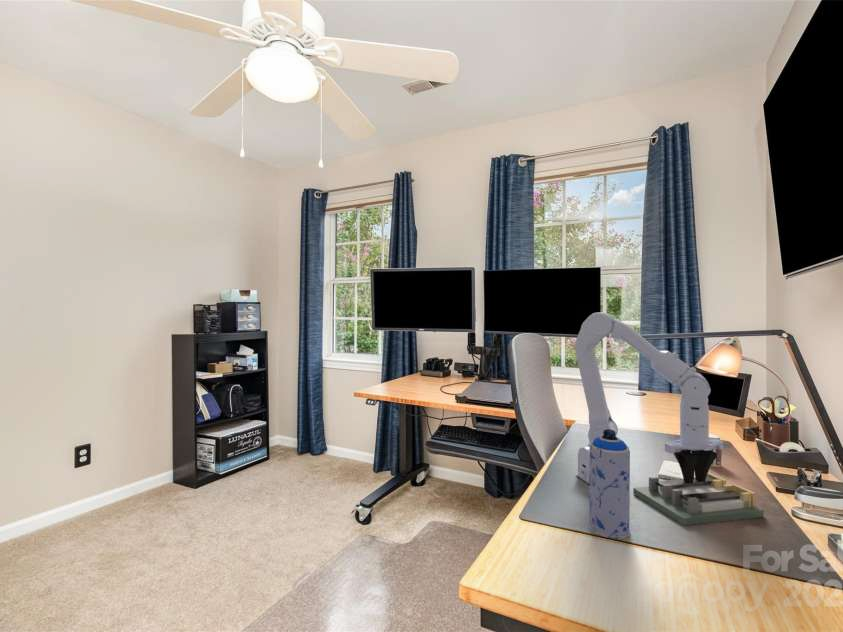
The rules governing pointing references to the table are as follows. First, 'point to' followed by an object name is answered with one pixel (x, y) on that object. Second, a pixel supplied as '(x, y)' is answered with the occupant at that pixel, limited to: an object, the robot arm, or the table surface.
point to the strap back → (684, 482)
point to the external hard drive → (671, 470)
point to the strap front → (712, 496)
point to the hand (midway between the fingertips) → (694, 480)
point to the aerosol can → (609, 486)
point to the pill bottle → (718, 460)
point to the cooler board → (693, 518)
